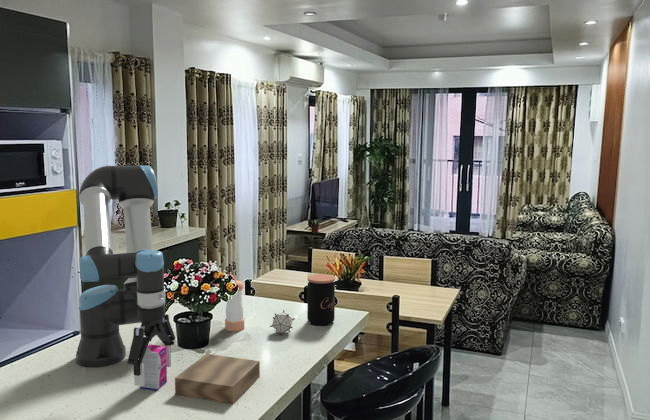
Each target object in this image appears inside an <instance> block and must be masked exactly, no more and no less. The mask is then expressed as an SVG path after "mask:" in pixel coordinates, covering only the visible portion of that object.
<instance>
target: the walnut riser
mask: <svg viewBox="0 0 650 420" xmlns="http://www.w3.org/2000/svg"><path fill="white" fill-rule="evenodd" d="M260 363H261V362H260V360H255V359H247V358H239V357H234V356H233V357H232V356H227V355H225V356H224V355H218V354H211V353H205V354H204V355H203V356H201V358H199V359H198V360H196V361H195V362H194V363H192V364H191V365H190V366H188V367H187V368H186V369H184V370H183V371H181V372H180V373H179V374H178V375H177V376H175V378H174V389H175V392H174V394H175V395H176V396H181V397H182V396H183V397H189V398H192V399H193V398H194V399H201V400H208V401H213V402H220V403H223V404H224V403H225V404H232V405H234V404H235V403H236V401H238V400H239V399H240V397H242V395H244V393H245V392H246V391H247V390H248V389H249V388H250V387H251V386H253V384H255V382H256V381H257V380H259V378H260V373H261V372H260V371H261V370H260V368H261V365H260Z"/></svg>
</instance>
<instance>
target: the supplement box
mask: <svg viewBox="0 0 650 420" xmlns="http://www.w3.org/2000/svg"><path fill="white" fill-rule="evenodd" d="M142 363H144V383H145V385H144V386H139V389H141V390H149V391H158V390H160V389H161V388H162V387H164V385H165V384H166V383H167V382H168V378H167V377H168V375H167V374H168V372H167V371H168V370H167V369H168V367H167V346H161V345H159V344H152V343H151V344H150V343H149V344H148V347H147V349H146V352H145V355H144V358H143V360H142Z"/></svg>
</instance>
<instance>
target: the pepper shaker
mask: <svg viewBox="0 0 650 420" xmlns="http://www.w3.org/2000/svg"><path fill="white" fill-rule="evenodd" d="M234 279H235V282H236V283H237V285H238V286H239V290H238V292H237V294H236V295H235V296H232V297H233V300H232V301H228V302H227V301H226V305H225V306H226V307H225V320H224V329H225V330H226V331H228V332H239V331H243V330H244V329H245V318H244V306H243V296H242V294H243V293H242V292H243V289H244V287H245V286H244V283H243V282H242V281H240V280H237V279H236V278H234Z"/></svg>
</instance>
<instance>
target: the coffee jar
mask: <svg viewBox="0 0 650 420" xmlns="http://www.w3.org/2000/svg"><path fill="white" fill-rule="evenodd" d="M307 280H308V282H307V311H306V312H307V313H306V314H307V316H306V317H307V318H306V319H307V321H308V323H309V324H310V325H312V326H316V327H325V326H330V325H332V324H333V322H335V309H336V307H335V304H336V303H335V297H336V296H335V295H336V291H335V290H336V287H335V285H336V284H335V280H336V278H335V276H333V275H330V274H325V273H324V274H323V273H322V274H321V273H320V274H319V273H317V274H312V275H309V276H308V277H307Z"/></svg>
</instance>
